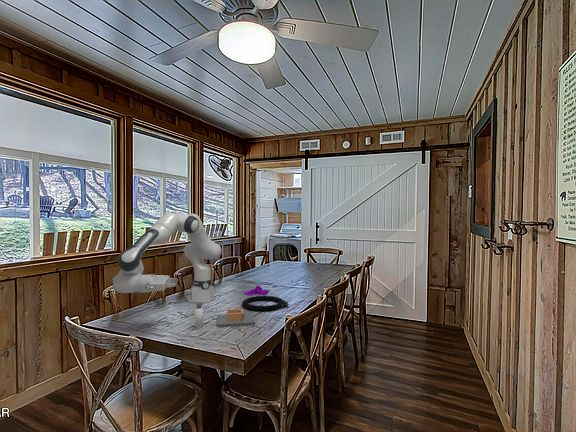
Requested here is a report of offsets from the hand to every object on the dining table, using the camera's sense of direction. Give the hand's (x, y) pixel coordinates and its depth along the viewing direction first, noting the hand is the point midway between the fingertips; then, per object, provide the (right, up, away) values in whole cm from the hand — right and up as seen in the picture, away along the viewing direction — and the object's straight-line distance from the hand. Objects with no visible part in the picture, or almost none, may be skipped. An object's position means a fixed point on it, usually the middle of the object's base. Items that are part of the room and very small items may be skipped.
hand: (176, 282), depth 168 cm
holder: (+28, -24, +13) cm, 39 cm away
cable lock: (+43, -24, +43) cm, 65 cm away
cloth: (+36, -24, +75) cm, 86 cm away
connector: (+11, -24, +3) cm, 26 cm away
